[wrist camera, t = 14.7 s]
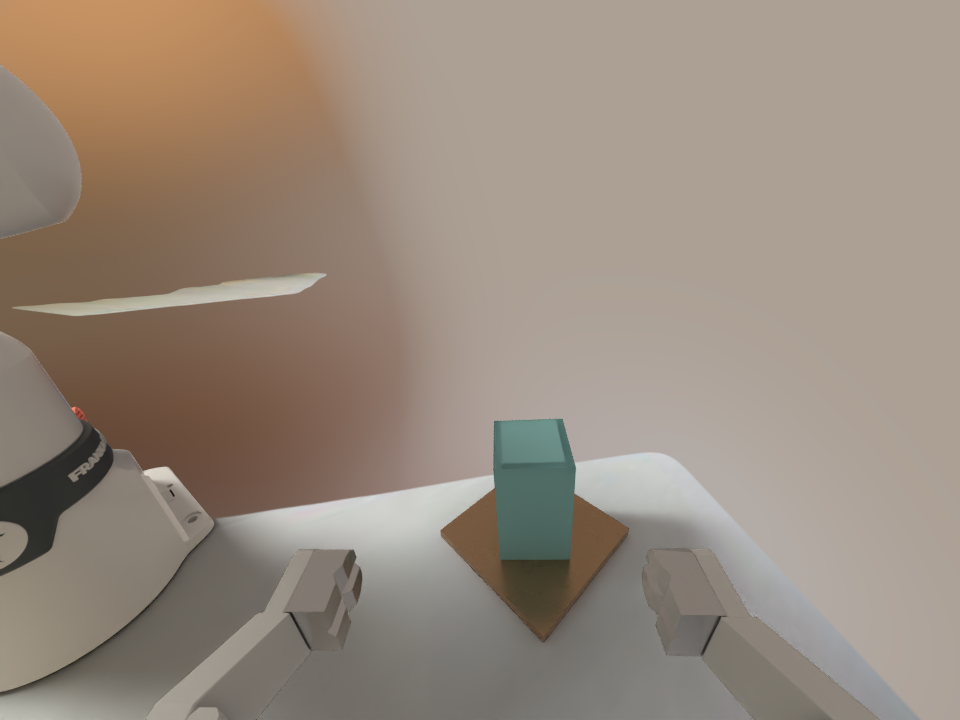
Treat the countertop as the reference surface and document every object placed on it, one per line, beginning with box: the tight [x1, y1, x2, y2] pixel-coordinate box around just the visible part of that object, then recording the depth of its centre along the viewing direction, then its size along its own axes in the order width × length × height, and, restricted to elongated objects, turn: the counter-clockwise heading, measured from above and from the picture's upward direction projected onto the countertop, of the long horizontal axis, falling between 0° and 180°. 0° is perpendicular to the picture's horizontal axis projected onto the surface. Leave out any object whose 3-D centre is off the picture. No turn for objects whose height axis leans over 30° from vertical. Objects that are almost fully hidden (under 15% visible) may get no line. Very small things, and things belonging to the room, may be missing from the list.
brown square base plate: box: [440, 488, 629, 642], centre depth 31 cm, size 17×17×8 cm
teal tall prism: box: [493, 419, 576, 560], centre depth 30 cm, size 6×6×10 cm
